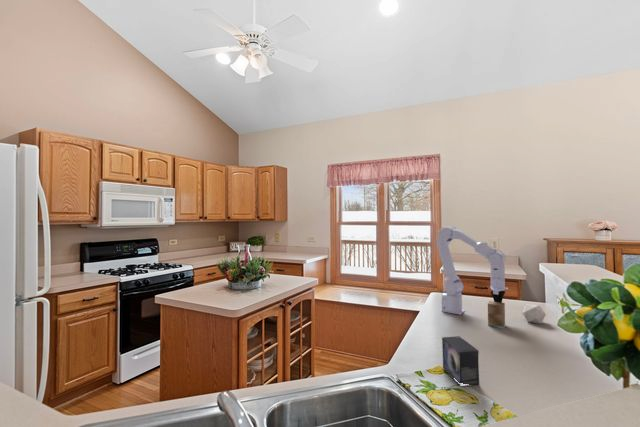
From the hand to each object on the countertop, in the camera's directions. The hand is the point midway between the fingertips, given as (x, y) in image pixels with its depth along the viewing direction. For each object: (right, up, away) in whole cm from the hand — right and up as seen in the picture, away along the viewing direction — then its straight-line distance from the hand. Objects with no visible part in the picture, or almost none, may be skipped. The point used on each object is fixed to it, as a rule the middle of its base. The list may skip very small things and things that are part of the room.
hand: (498, 306), depth 137 cm
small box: (-40, -7, -46) cm, 61 cm away
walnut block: (-4, -7, -5) cm, 9 cm away
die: (+16, -7, -1) cm, 18 cm away
